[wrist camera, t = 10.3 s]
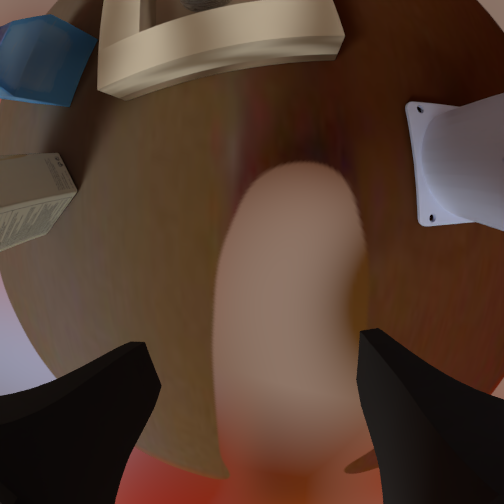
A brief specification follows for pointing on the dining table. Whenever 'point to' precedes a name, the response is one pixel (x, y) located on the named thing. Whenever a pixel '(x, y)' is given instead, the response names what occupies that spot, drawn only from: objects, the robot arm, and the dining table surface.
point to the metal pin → (203, 4)
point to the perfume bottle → (42, 60)
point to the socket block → (207, 40)
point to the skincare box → (31, 195)
